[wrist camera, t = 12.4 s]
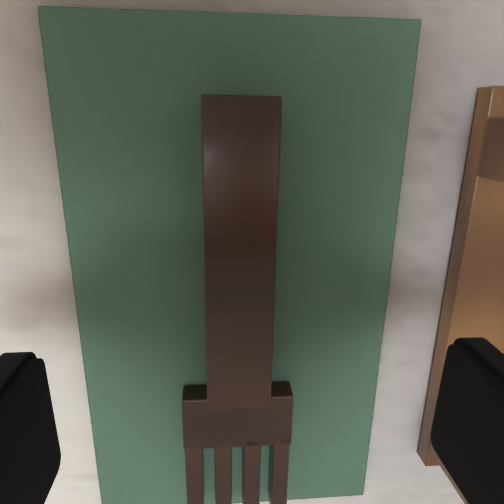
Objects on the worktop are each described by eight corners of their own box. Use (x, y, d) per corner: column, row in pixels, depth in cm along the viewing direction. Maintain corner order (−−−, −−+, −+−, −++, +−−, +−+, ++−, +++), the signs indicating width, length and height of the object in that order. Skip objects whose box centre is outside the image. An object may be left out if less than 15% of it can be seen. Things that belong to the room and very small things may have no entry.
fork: (171, 96, 13) (166, 93, 12) (304, 99, 14) (315, 96, 12) (187, 498, 19) (185, 531, 17) (284, 492, 19) (289, 524, 17)
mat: (41, 8, 13) (36, 5, 12) (417, 21, 14) (421, 19, 13) (104, 506, 19) (102, 512, 18) (361, 489, 20) (363, 495, 19)
